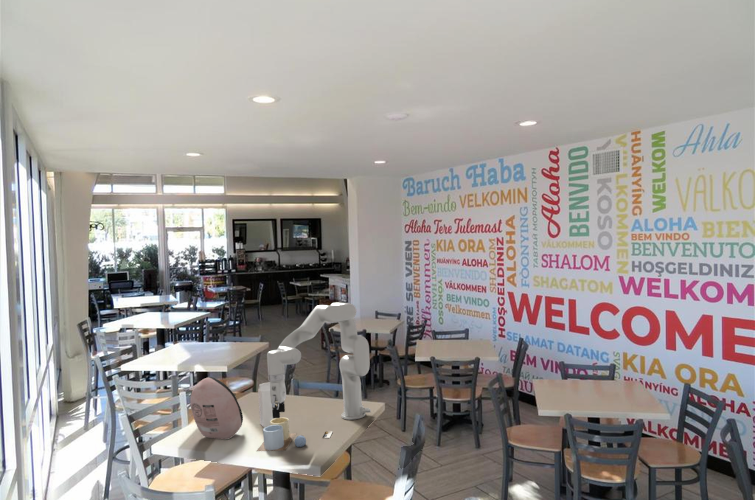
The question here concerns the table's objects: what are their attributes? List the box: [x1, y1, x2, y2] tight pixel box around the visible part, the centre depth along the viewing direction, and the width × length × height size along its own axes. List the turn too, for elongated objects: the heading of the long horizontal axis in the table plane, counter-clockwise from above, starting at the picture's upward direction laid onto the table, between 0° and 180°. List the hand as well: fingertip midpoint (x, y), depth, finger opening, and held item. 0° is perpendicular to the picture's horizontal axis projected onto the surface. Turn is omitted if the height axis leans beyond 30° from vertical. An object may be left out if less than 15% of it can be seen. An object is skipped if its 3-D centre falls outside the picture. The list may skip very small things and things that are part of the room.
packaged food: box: [189, 376, 244, 440], centre depth 244 cm, size 22×20×30 cm
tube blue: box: [262, 425, 284, 450], centre depth 226 cm, size 8×8×8 cm
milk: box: [257, 381, 275, 428], centre depth 256 cm, size 6×6×22 cm
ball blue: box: [294, 434, 307, 448], centre depth 225 cm, size 5×5×5 cm
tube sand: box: [270, 416, 291, 440], centre depth 236 cm, size 8×8×8 cm
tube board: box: [256, 430, 333, 452], centre depth 233 cm, size 30×24×1 cm
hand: (278, 414), depth 236 cm, fingers open, 7 cm apart
